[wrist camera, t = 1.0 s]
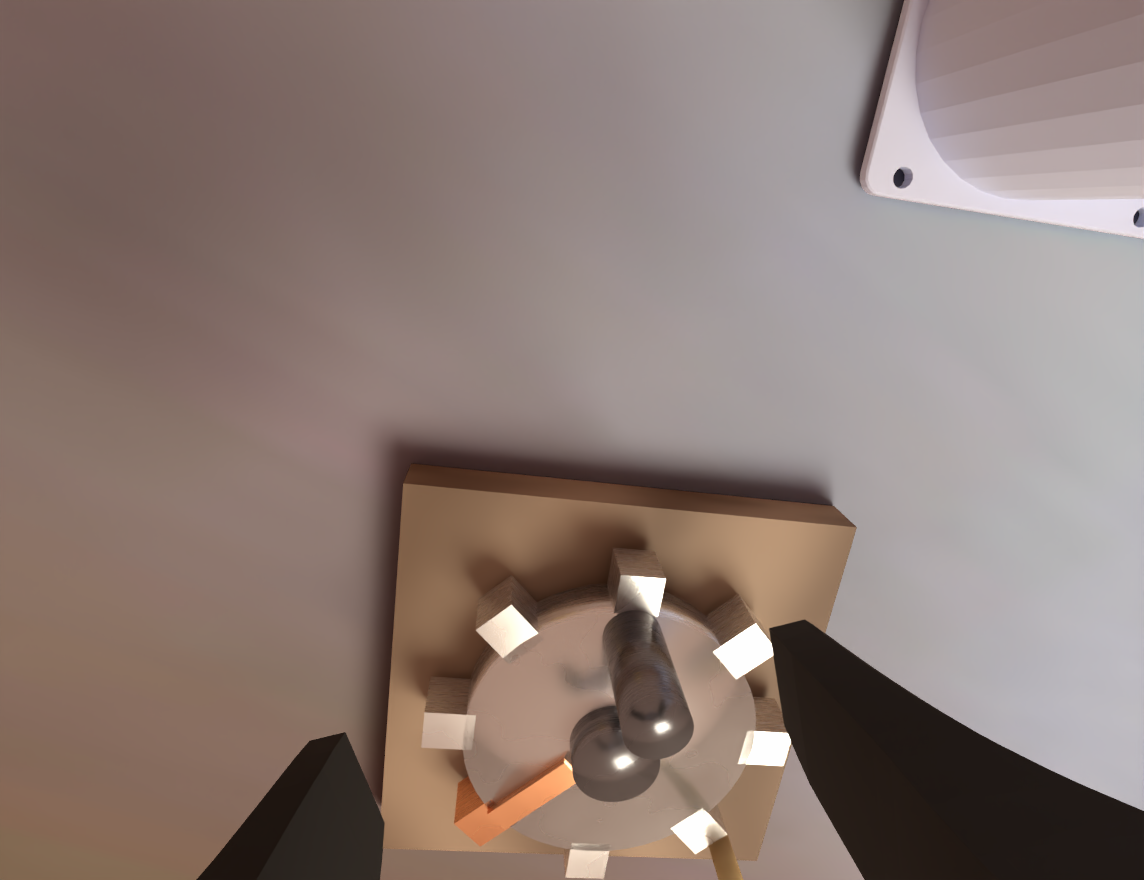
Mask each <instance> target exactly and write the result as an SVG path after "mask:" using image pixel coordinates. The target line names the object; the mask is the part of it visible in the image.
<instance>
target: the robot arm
mask: <svg viewBox="0 0 1144 880" xmlns="http://www.w3.org/2000/svg"><path fill="white" fill-rule="evenodd" d="M899 168H900V169H902V170H903V172H904V174H905V175H904V182H903V183H902V185H901V186H900V187H898V188H897V187H896V186H895V185H894V183H893V176H894V174H895V172H896V171H897V170H898V169H899ZM860 183H861V186H862V188H863V189H864V191H865V192H866V193H868V194H870V195H873V196H879V197H885V198H892V199H898V200H904V201H910V202H917V203H923V204H929V205H935V206H942V207H948V208H954V209H960V210H966V211H973V212H979V213H985V214H991V215H998V216H1004V217H1010V218H1016V219H1022V220H1029V221H1035V222H1041V223H1047V224H1054V225H1060V226H1066V227H1072V228H1079V229H1085V230H1091V231H1097V232H1103V233H1110V234H1116V235H1122V236H1128V237H1135V238H1141V239H1144V0H904V3H903V7H902V11H901V15H900V19H899V23H898V27H897V31H896V35H895V39H894V43H893V47H892V50H891V54H890V58H889V62H888V66H887V70H886V74H885V78H884V82H883V86H882V90H881V94H880V97H879V101H878V105H877V109H876V113H875V117H874V121H873V125H872V129H871V133H870V137H869V141H868V144H867V148H866V152H865V156H864V160H863V164H862V168H861V172H860ZM1137 210H1138V211H1139V219H1138V220H1137V222H1136V223H1135V224H1134V222H1133V218H1134V215H1135V213H1136V212H1137ZM769 632H770V638H771V645H772V651H773V657H774V664H775V670H776V677H777V683H778V690H779V696H780V703H781V709H782V716H783V722H784V726H785V728H786V731H787V733H788V735H789V738H790V740H791V742H792V745H793V747H794V749H795V752H796V754H797V756H798V759H799V761H800V763H801V765H802V768H803V770H804V772H805V774H806V776H807V779H808V781H809V783H810V785H811V787H812V789H813V790H814V792H815V794H816V796H817V798H818V799H819V801H820V803H821V805H822V806H823V808H824V810H825V812H826V813H827V815H828V817H829V819H830V820H831V822H832V824H833V826H834V827H835V829H836V831H837V833H838V834H839V836H840V838H841V840H842V841H843V843H844V845H845V846H846V848H847V850H848V852H849V853H850V855H851V857H852V859H853V860H854V862H855V864H856V866H857V867H858V869H859V871H860V872H861V874H862V876H863V878H864V879H865V880H1144V811H1142V810H1140V809H1137V808H1135V807H1133V806H1130V805H1128V804H1126V803H1123V802H1121V801H1119V800H1116V799H1114V798H1112V797H1109V796H1107V795H1104V794H1102V793H1100V792H1097V791H1095V790H1093V789H1090V788H1088V787H1086V786H1083V785H1081V784H1079V783H1077V782H1075V781H1072V780H1070V779H1068V778H1066V777H1064V776H1062V775H1059V774H1057V773H1055V772H1053V771H1051V770H1049V769H1047V768H1045V767H1043V766H1041V765H1039V764H1037V763H1035V762H1033V761H1031V760H1029V759H1027V758H1025V757H1023V756H1021V755H1019V754H1017V753H1015V752H1013V751H1011V750H1009V749H1007V748H1005V747H1003V746H1001V745H999V744H997V743H995V742H993V741H991V740H990V739H988V738H986V737H984V736H982V735H980V734H978V733H977V732H975V731H973V730H971V729H970V728H968V727H966V726H965V725H963V724H961V723H959V722H958V721H956V720H954V719H953V718H951V717H949V716H948V715H946V714H944V713H942V712H941V711H939V710H938V709H936V708H934V707H933V706H931V705H929V704H928V703H926V702H925V701H923V700H921V699H920V698H918V697H917V696H915V695H914V694H912V693H911V692H909V691H908V690H906V689H905V688H903V687H901V686H900V685H898V684H897V683H895V682H894V681H892V680H891V679H889V678H888V677H886V676H885V675H883V674H882V673H880V672H879V671H877V670H876V669H874V668H873V667H871V666H870V665H869V664H867V663H866V662H864V661H863V660H862V659H860V658H859V657H857V656H856V655H854V654H853V653H852V652H850V651H849V650H847V649H846V648H845V647H843V646H842V645H840V644H839V643H838V642H836V641H835V640H834V639H832V638H831V637H829V636H828V635H827V634H825V633H824V632H823V631H821V630H820V629H818V628H817V627H816V626H814V625H813V624H811V623H810V622H808V621H807V620H805V619H804V620H800V621H796V622H792V623H788V624H784V625H780V626H776V627H772V628H769ZM384 826H385V822H384V820H383V818H382V815H381V813H380V811H379V808H378V806H377V804H376V802H375V799H374V797H373V795H372V792H371V790H370V788H369V785H368V783H367V781H366V779H365V776H364V774H363V772H362V769H361V767H360V765H359V762H358V760H357V758H356V756H355V753H354V751H353V749H352V746H351V744H350V742H349V739H348V737H347V735H346V733H345V732H344V733H340V734H336V735H332V736H328V737H324V738H320V739H315V740H311V741H309V742H308V743H307V745H306V746H305V747H304V748H303V749H302V750H301V752H300V753H299V754H298V755H297V756H296V758H295V759H294V760H293V761H292V763H291V764H290V765H289V766H288V767H287V769H286V770H285V771H284V773H283V774H282V775H281V776H280V778H279V779H278V780H277V781H276V783H275V784H274V785H273V786H272V788H271V789H270V790H269V792H268V793H267V794H266V795H265V797H264V798H263V799H262V800H261V802H260V803H259V804H258V805H257V807H256V808H255V809H254V811H253V812H252V813H251V814H250V815H249V817H248V818H247V819H246V820H245V822H244V823H243V824H242V825H241V827H240V828H239V829H238V830H237V832H236V833H235V834H234V835H233V837H232V838H231V839H230V840H229V842H228V843H227V844H226V845H225V847H224V848H223V849H222V850H221V852H220V853H219V854H218V855H217V856H216V858H215V859H214V860H213V861H212V862H211V864H210V865H209V866H208V867H207V868H206V869H205V871H204V872H203V873H202V874H201V875H200V876H199V878H198V879H197V880H380V873H381V863H382V852H383V839H384Z"/></svg>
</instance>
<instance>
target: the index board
mask: <svg viewBox="0 0 1144 880" xmlns="http://www.w3.org/2000/svg"><path fill="white" fill-rule="evenodd" d="M856 528H857V527H856V526H855V525H854V524H853V523H852V522H850V521H849V520H848V519H847V518H846V517H845V516H844V515H843V514H842V513H841V512H840V511H839V510H838V509H836V508H835V507H834V506H829V505H819V504H809V503H799V502H789V501H779V500H769V499H759V498H749V497H739V496H729V495H719V494H709V493H699V492H689V491H679V490H670V489H660V488H650V487H640V486H630V485H620V484H610V483H600V482H590V481H580V480H570V479H560V478H550V477H540V476H530V475H520V474H510V473H501V472H491V471H481V470H471V469H461V468H451V467H441V466H431V465H421V464H411V465H410V468H409V470H408V473H407V475H406V478H405V480H404V483H403V494H402V509H401V524H400V539H399V553H398V568H397V583H396V598H395V613H394V628H393V643H392V658H391V673H390V688H389V703H388V717H387V732H386V747H385V762H384V777H383V792H382V807H381V815H382V818H383V820H384V822H385V826H384V839H383V848H387V849H417V850H447V851H478V852H508V853H539V854H564V853H563V848H560V847H555V846H552V845H548V844H545V843H542V842H539V841H536V840H534V839H532V838H530V837H527V836H525V835H523V834H521V833H519V832H518V831H516V830H514V829H513V828H511V827H510V828H508V829H507V830H505V831H504V832H502V833H501V834H499V835H498V836H496V837H494V838H493V839H491V840H490V841H488V842H487V843H485V844H484V845H482V846H481V847H480V846H479V845H478V844H476V843H475V842H474V841H473V840H472V839H471V838H470V837H468V836H467V835H466V834H465V833H464V832H463V831H462V830H460V829H459V828H458V827H457V826H456V825H455V824H454V819H455V808H456V798H457V788H458V783H459V782H460V781H462V780H463V779H464V778H466V777H467V776H468V773H467V769H466V766H465V762H464V755H463V750H459V749H439V748H421V745H422V734H423V722H424V712H425V706H426V701H427V695H428V689H429V684H430V678H431V677H447V678H463V679H470V678H471V675H472V672H473V669H474V667H475V664H476V662H477V661H478V659H479V657H480V655H481V653H482V651H483V650H484V648H485V647H486V646H487V644H488V642H487V641H486V640H485V639H484V638H483V637H482V636H481V635H480V634H479V633H478V632H477V631H476V620H477V609H478V599H479V598H481V597H482V596H483V595H485V594H486V593H488V592H489V591H490V590H492V589H493V588H494V587H496V586H497V585H499V584H500V583H501V582H503V581H504V580H506V579H507V578H508V577H510V576H511V575H512V576H513V577H514V578H515V579H516V580H517V581H518V583H519V584H520V585H521V586H522V587H523V588H524V589H525V590H526V591H527V592H528V593H529V594H530V596H531V597H532V598H533V599H534V600H535V601H536V602H539V601H541V600H543V599H545V598H547V597H549V596H551V595H554V594H557V593H560V592H563V591H566V590H569V589H573V588H578V587H583V586H587V585H596V584H606V583H607V579H608V573H609V568H610V562H611V556H612V551H613V548H622V549H633V550H645V551H655V553H656V556H657V558H658V561H659V563H660V566H661V568H662V570H663V573H664V575H665V578H666V581H665V586H664V590H663V591H664V592H667V593H669V594H672V595H674V596H676V597H679V598H681V599H683V600H684V601H686V602H688V603H690V604H691V605H693V606H695V607H696V608H697V609H698V610H700V611H701V612H702V613H704V614H705V615H708V614H709V613H711V612H712V611H714V610H715V609H717V608H718V607H720V606H721V605H723V604H724V603H725V602H727V601H728V600H730V599H731V598H733V597H734V596H736V595H737V594H739V595H740V597H741V598H742V599H743V600H744V602H745V603H746V604H747V606H748V607H749V608H750V609H751V611H752V612H753V613H754V615H755V616H756V617H757V618H758V620H759V621H760V623H761V624H762V626H763V628H764V629H765V631H766V633H767V634H768V636H769V638H770V632H769V628H772V627H776V626H780V625H784V624H788V623H792V622H796V621H800V620H804V619H805V620H807V621H808V622H810V623H811V624H813V625H814V626H816V627H817V628H818V629H820V630H821V631H823V632H824V633H825V632H826V628H827V625H828V622H829V618H830V615H831V612H832V608H833V605H834V602H835V598H836V595H837V592H838V588H839V585H840V582H841V578H842V575H843V572H844V568H845V565H846V562H847V558H848V555H849V552H850V548H851V545H852V542H853V538H854V535H855V532H856ZM770 639H771V638H770ZM744 676H745V678H746V680H747V682H748V684H749V687H750V689H751V693H752V696H753V697H762V698H774V699H775V700H776V702H777V704H778V706H779V708H780V710H781V712H782V709H781V703H780V696H779V690H778V683H777V677H776V670H775V664H774V657H773V656H771V657H770V658H768V659H767V660H765V661H764V662H762V663H760V664H759V665H757V666H756V667H754V668H753V669H751V670H750V671H748V672H747V673H745V674H744ZM791 745H792V742H790V745H789V749H788V752H787V755H786V759H785V762H784V765H783V766H773V765H753V764H746V766H745V768H744V770H743V772H742V774H741V775H740V777H739V779H738V780H737V782H736V783H735V784H734V786H733V787H732V789H731V790H730V791H729V792H728V793H727V795H726V796H725V797H724V798H723V799H722V800H721V801H720V802H719V803H718V804H717V805H718V808H719V811H720V814H721V817H722V820H723V823H724V826H725V828H726V831H727V835H725V836H724V837H722V838H721V839H719V840H717V841H716V842H714V843H713V844H711V845H709V846H708V847H706V848H704V849H703V850H701V851H700V852H698V853H696V854H695V853H694V852H693V851H692V850H691V849H690V848H689V847H688V846H687V845H686V844H685V843H684V842H683V841H682V840H681V839H680V838H679V837H678V836H677V835H676V834H672V835H670V836H668V837H665V838H663V839H661V840H658V841H655V842H651V843H648V844H645V845H641V846H637V847H632V848H628V849H621V850H612V851H609V855H608V856H630V857H660V858H690V859H713V863H714V866H715V869H716V872H717V876H718V879H719V880H743V878H742V875H741V872H740V869H739V866H738V863H737V860H751V861H757V859H758V855H759V852H760V849H761V845H762V842H763V839H764V835H765V832H766V829H767V825H768V822H769V819H770V815H771V812H772V809H773V805H774V802H775V799H776V795H777V792H778V789H779V785H780V782H781V779H782V775H783V772H784V768H785V765H786V762H787V758H788V755H789V752H790V748H791Z"/></svg>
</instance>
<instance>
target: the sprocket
mask: <svg viewBox="0 0 1144 880" xmlns="http://www.w3.org/2000/svg"><path fill="white" fill-rule="evenodd" d="M665 581H666V578H665V575H664V573H663V570H662V568H661V566H660V563H659V561H658V558H657V556H656V553H655V551H645V550H633V549H622V548H613V551H612V556H611V562H610V568H609V573H608V579H607V583H606V584H596V585H587V586H583V587H578V588H573V589H569V590H566V591H563V592H560V593H557V594H554V595H551V596H549V597H547V598H545V599H543V600H541V601H539V602H536V601H535V600H534V599H533V598H532V597H531V596H530V594H529V593H528V592H527V591H526V590H525V589H524V588H523V587H522V586H521V585H520V584H519V583H518V581H517V580H516V579H515V578H514V577H513V576H512V575H511V576H510V577H508V578H507V579H506V580H504V581H503V582H501V583H500V584H499V585H497V586H496V587H494V588H493V589H492V590H490V591H489V592H488V593H486V594H485V595H483V596H482V597H481V598H479V599H478V609H477V620H476V631H477V632H478V633H479V634H480V635H481V636H482V637H483V638H484V639H485V640H486V641H487V642H488V644H487V646H486V647H485V648H484V650H483V651H482V653H481V655H480V657H479V659H478V661H477V662H476V664H475V667H474V669H473V672H472V675H471V678H470V679H463V678H447V677H431V678H430V684H429V689H428V695H427V701H426V706H425V712H424V722H423V734H422V745H421V748H439V749H459V750H463V755H464V762H465V766H466V769H467V773H468V776H467V777H466V778H464V779H463V780H462V781H460V782H459V783H458V788H457V798H456V808H455V819H454V824H455V825H456V826H457V827H458V828H459V829H460V830H462V831H463V832H464V833H465V834H466V835H467V836H468V837H470V838H471V839H472V840H473V841H474V842H475V843H476V844H478V845H479V846H480V847H481V846H482V845H484V844H485V843H487V842H488V841H490V840H491V839H493V838H494V837H496V836H498V835H499V834H501V833H502V832H504V831H505V830H507V829H508V828H510V827H511V828H513V829H514V830H516V831H518V832H519V833H521V834H523V835H525V836H527V837H530V838H532V839H534V840H536V841H539V842H542V843H545V844H548V845H552V846H555V847H560V848H563V853H564V866H565V877H566V878H601V879H604V874H605V869H606V865H607V860H608V855H609V851H612V850H621V849H628V848H632V847H637V846H641V845H645V844H648V843H651V842H655V841H658V840H661V839H663V838H665V837H668V836H670V835H672V834H676V835H677V836H678V837H679V838H680V839H681V840H682V841H683V842H684V843H685V844H686V845H687V846H688V847H689V848H690V849H691V850H692V851H693V852H694V853H695V854H696V853H698V852H700V851H701V850H703V849H704V848H706V847H708V846H709V845H711V844H713V843H714V842H716V841H717V840H719V839H721V838H722V837H724V836H725V835H727V831H726V828H725V826H724V823H723V820H722V817H721V814H720V811H719V808H718V805H717V804H718V803H719V802H720V801H721V800H722V799H723V798H724V797H725V796H726V795H727V793H728V792H729V791H730V790H731V789H732V787H733V786H734V784H735V783H736V782H737V780H738V779H739V777H740V775H741V774H742V772H743V770H744V768H745V766H746V764H753V765H773V766H783V765H784V762H785V759H786V755H787V752H788V749H789V745H790V742H791V740H790V738H789V735H788V733H787V731H786V728H785V726H784V722H783V716H782V712H781V710H780V708H779V706H778V704H777V702H776V700H775V699H774V698H762V697H753V696H752V693H751V689H750V687H749V684H748V682H747V680H746V678H745V676H744V674H745V673H747V672H748V671H750V670H751V669H753V668H754V667H756V666H757V665H759V664H760V663H762V662H764V661H765V660H767V659H768V658H770V657H771V656H773V651H772V645H771V639H770V638H769V636H768V634H767V633H766V631H765V629H764V628H763V626H762V624H761V623H760V621H759V620H758V618H757V617H756V616H755V615H754V613H753V612H752V611H751V609H750V608H749V607H748V606H747V604H746V603H745V602H744V600H743V599H742V598H741V597H740V595H739V594H737V595H736V596H734V597H733V598H731V599H730V600H728V601H727V602H725V603H724V604H723V605H721V606H720V607H718V608H717V609H715V610H714V611H712V612H711V613H709V614H708V615H705V614H704V613H702V612H701V611H700V610H698V609H697V608H696V607H695V606H693V605H691V604H690V603H688V602H686V601H684V600H683V599H681V598H679V597H676V596H674V595H672V594H669V593H667V592H664V591H663V590H664V586H665Z"/></svg>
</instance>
